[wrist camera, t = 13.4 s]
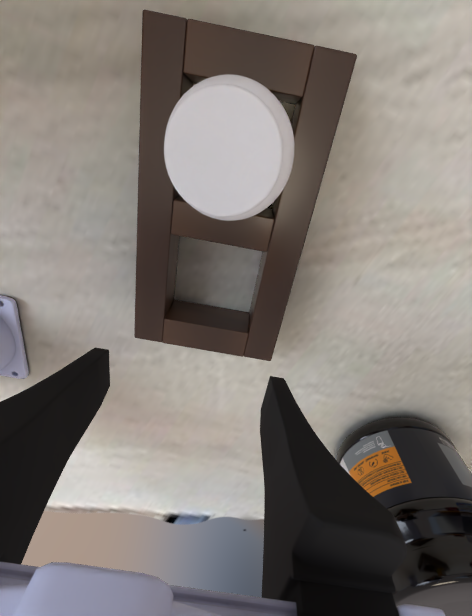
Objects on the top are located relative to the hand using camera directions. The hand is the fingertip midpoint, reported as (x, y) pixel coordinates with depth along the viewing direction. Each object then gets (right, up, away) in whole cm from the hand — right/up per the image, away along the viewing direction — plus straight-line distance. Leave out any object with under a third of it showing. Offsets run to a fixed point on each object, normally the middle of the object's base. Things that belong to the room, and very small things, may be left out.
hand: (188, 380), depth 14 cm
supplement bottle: (+2, +13, +5) cm, 14 cm away
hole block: (+1, +9, +7) cm, 12 cm away
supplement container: (+17, -10, +16) cm, 26 cm away
